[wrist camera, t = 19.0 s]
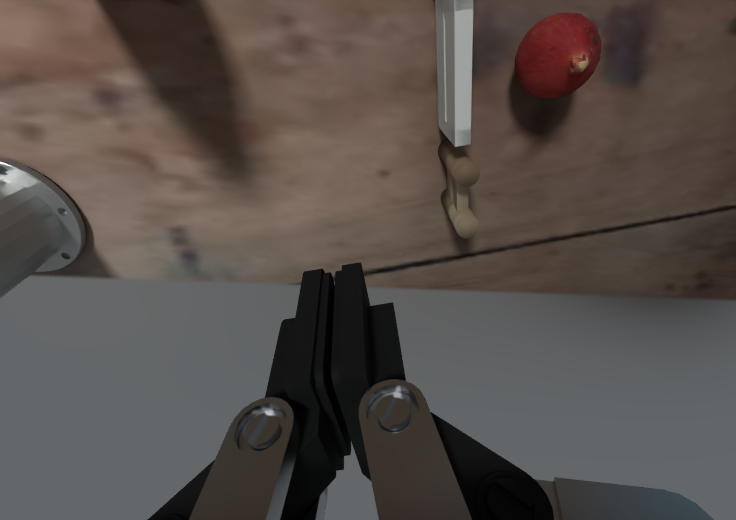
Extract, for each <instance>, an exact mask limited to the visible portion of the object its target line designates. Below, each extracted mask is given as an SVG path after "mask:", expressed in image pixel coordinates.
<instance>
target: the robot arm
mask: <svg viewBox="0 0 736 520" xmlns="http://www.w3.org/2000/svg"><path fill="white" fill-rule="evenodd" d="M85 240H86V232H85V226H84V223H83V220H82V218H81V215H80V213H79V212H78V210H77V208H76V207H75V205H74V204H73V202H72V201H71V200H70V199H69V198H68V196H67V195H66V194H65V193H64V192H63V191H62V190H61V189H60V188H59V187H57V186H56V185H55V184H54V183H53V182H51V181H50V180H49V179H47V178H46V177H44V176H43V175H42V174H40V173H38V172H36V171H34V170H33V169H31V168H29V167H27V166H24V165H22V164H19V163H17V162H14V161H12V160H8V159H4V158H0V299H1V298H2V297H3V296H4V295H5V294H7V293H8V292H9V291H10V290H12V289H13V288H14V287H15V286H17V285H18V284H19V283H20V282H22V281H23V280H24V279H25V278H27V277H28V276H29V275H30V274H32V273H33V272H48V271H54V270H58V269H61V268H63V267H65V266H67V265H69V264H70V263H71V262H73V261H74V260H75V259H76V258H77V257H78V256H79V255H80V253H81V252H82V250H83V248H84V245H85ZM351 441H352V444H353V447H354V450H355V453H356V456H357V459H358V462H359V465H360V468H361V471H362V473H363V474H364V475H365V476H366V477H367V478H368V479H369V480H371V482H372V487H373V492H374V496H375V502H376V507H377V512H378V517H379V520H713V518H712V517H711V516H709V515H708V514H707V513H706V512H705V511H704V510H703V509H702V508H700V507H699V506H698V505H697V504H696V503H694V502H692V501H691V500H689V499H687V498H685V497H684V496H682V495H680V494H677V493H674V492H670V491H666V490H663V489H662V490H661V489H654V488H644V487H636V486H627V485H618V484H609V483H600V482H592V481H583V480H574V479H565V478H557V477H555V478H554V482H553V481H544V480H535V479H533V478H532V477H531V476H530V475H528V474H527V473H526V472H524V471H523V470H521V469H520V468H518V467H516V466H515V465H513V464H512V463H510V462H509V461H507V460H505V459H504V458H502V457H501V456H499V455H498V454H496V453H494V452H493V451H491V450H490V449H488V448H486V447H485V446H483V445H482V444H480V443H479V442H477V441H475V440H474V439H472V438H471V437H469V436H468V435H466V434H465V433H463V432H461V431H460V430H458V429H457V428H455V427H453V426H452V425H450V424H449V423H447V422H446V421H444V420H443V419H441V418H439V417H438V416H436V415H435V414H433V413H432V412H430V410H429V407H428V405H427V402H426V399H425V397H424V396H423V394H422V392H421V391H420V390H419V389H418V388H417V387H416V386H415V385H413V384H412V383H409V382H407V381H406V379H405V373H404V367H403V360H402V354H401V348H400V342H399V336H398V330H397V324H396V317H395V311H394V306H393V303H387V304H381V305H374V306H370V302H369V298H368V293H367V288H366V284H365V279H364V274H363V269H362V265H361V262H360V263H354V264H348V265H342V271H336V273H335V285H334V281H333V277H332V274H331V273H330V272H329V273H325V272H324V270H323V269H317V270H311V271H305V272H304V273H303V277H302V283H301V289H300V295H299V300H298V306H297V311H296V317H295V318H291V319H285V320H283V321H282V323H281V327H280V332H279V336H278V340H277V345H276V350H275V354H274V359H273V364H272V368H271V372H270V377H269V382H268V386H267V391H266V396H265V398H262V399H259V400H257V401H254V402H252V403H251V404H249V405H248V406H246V407H245V408H244V409H242V410H241V411H240V412H239V414H238V415H237V416H236V417H235V418H234V420H233V422H232V423H231V425H230V427H229V429H228V431H227V434H226V436H225V438H224V440H223V443H222V445H221V447H220V450H219V452H218V454H217V456H216V459H215V460H214V461H213V462H212V463H211V464H209V465H208V466H207V467H206V468H205V469H204V470H203V471H202V472H201V473H199V474H198V475H197V476H196V477H195V478H194V479H193V480H192V481H190V482H189V483H188V484H187V485H186V486H185V487H184V488H183V489H181V490H180V491H179V492H178V493H177V494H176V495H175V496H174V497H173V498H171V499H170V500H169V501H168V502H167V503H166V504H165V505H164V506H163V507H162V508H160V509H159V510H158V511H157V512H156V513H155V514H154V515H152V516H151V517H150V518H149V519H148V520H323V519H324V513H325V508H326V502H327V487H328V485H329V484H330V483H331V482H332V481H333V480H334V479H335V477H336V470H343V469H344V456H346V455H350V454H351Z"/></svg>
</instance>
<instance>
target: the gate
mask: <svg viewBox="0 0 736 520" xmlns="http://www.w3.org/2000/svg"><path fill="white" fill-rule="evenodd" d="M435 7H436V43H437V80H438V116H439V128H440V129H441V130H442V132H443V133H444V134H445V135H446V136H447V138H448V139H449V140H450V141H451V143H452V144H453V145H454V146H455V147H457V146H464V145H470V141H471V90H472V38H473V0H435Z"/></svg>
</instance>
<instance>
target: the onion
mask: <svg viewBox="0 0 736 520" xmlns="http://www.w3.org/2000/svg"><path fill="white" fill-rule="evenodd" d="M600 53H601V39H600V36H599V33H598V30H597V27H596V25H595V24H594V23H593V22H591V21H590V20H588V19H587V18H586V17H584V16H583V15H581V14H577V13H558V14H555V15H553V16H550V17H548V18H545V19H543V20H541V21H540V22H539V23H537V24H536V25H535V26H534V27H533V28H531V29H530V30H529V31H528V32H527V34H526V35H525V37H524V38H523V40H522V42H521V43H520V45H519V48H518V51H517V55H516V58H515V70H516V76H517V78H518V80H519V82H520V84H521V86H522V87H523V88H524V89H525V90H527V91H528V92H529V93H531V94H532V95H533V96H535V97H542V98H548V99H554V98H557V97H561V96H564V95H568V94H570V93H572V92H573V91H575V90H576V89H578V88H579V87H581V86H582V85H583V84H584V83H585V82H586V81H587V80H588V79H589V77H590V76H591V75H592V74H593V73H594V71H595V68H596V66H597V64H598V62H599V60H600Z"/></svg>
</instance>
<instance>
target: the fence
mask: <svg viewBox="0 0 736 520" xmlns="http://www.w3.org/2000/svg"><path fill="white" fill-rule="evenodd" d="M438 154H439V156H440V158H441V159H442V161H443V162H444V164H445V165H446V167H447V182H448V189H446V190H444V191H443V193H442V194H441V201H442V203H443V205H444V207H445V209H446V211H447V213H448V215H449V217H450V219H451V221H452V223H453V225H454V227H455V229H456V231H457V233H458V235H459V236H460V237H462V238H471V237H473V236H475V235H476V234H477V233H478V231H479V228H480V226H479V223H478V221H477V220H476V218H475V216H474V215H473V213H472V212H471V210H470V209H469V207H468V187H469V186H472V185H473V184H475V183H476V182H477V180H478V179H479V176H480V171H479V168H478V167H477V166H476V164H475V163H474V162H473V161H472V160H471V159H470V158H469V156H468V155H467V154H466V153H465V152H464V151H463V150H462V148H461V147H460V146H457V147H455V146H454V145H453V144H452V143H451V141H450V140H449V139H448V140H445V141H443V142H442V143H441V144H440V145H439V148H438Z"/></svg>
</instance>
